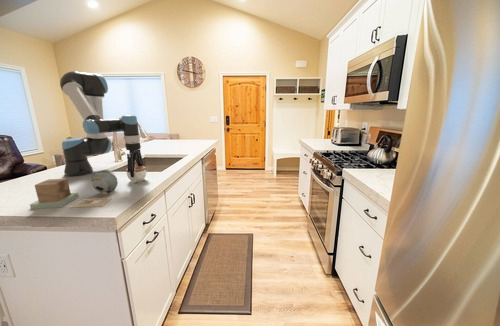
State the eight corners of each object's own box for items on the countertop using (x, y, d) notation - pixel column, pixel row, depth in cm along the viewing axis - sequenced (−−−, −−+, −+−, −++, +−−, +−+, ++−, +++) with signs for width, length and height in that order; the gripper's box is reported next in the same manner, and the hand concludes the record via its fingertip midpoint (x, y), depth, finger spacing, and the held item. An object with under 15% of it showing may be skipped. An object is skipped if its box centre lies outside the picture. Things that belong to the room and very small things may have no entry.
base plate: (51, 197, 105) (50, 194, 104) (78, 196, 106) (77, 192, 106) (30, 208, 93) (29, 204, 93) (61, 207, 95) (60, 202, 94)
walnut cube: (52, 195, 103) (48, 179, 101) (70, 194, 104) (67, 178, 102) (38, 202, 95) (34, 185, 93) (59, 201, 96) (55, 184, 94)
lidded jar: (135, 177, 136) (133, 162, 134) (151, 178, 134) (149, 163, 132) (123, 183, 126) (121, 167, 123) (140, 183, 124) (138, 168, 122)
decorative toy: (97, 182, 118) (73, 189, 98) (107, 167, 118) (85, 170, 98) (116, 193, 120) (97, 202, 100) (126, 178, 120) (109, 183, 100)
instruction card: (83, 199, 103) (82, 198, 102) (112, 198, 104) (112, 197, 104) (70, 208, 94) (70, 206, 94) (102, 206, 96) (102, 205, 95)
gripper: (133, 140, 135) (138, 173, 140) (116, 146, 113) (122, 185, 118) (146, 139, 136) (150, 173, 141) (131, 145, 114) (137, 185, 119)
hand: (137, 178), depth 130 cm, fingers closed on lidded jar, 11 cm apart
